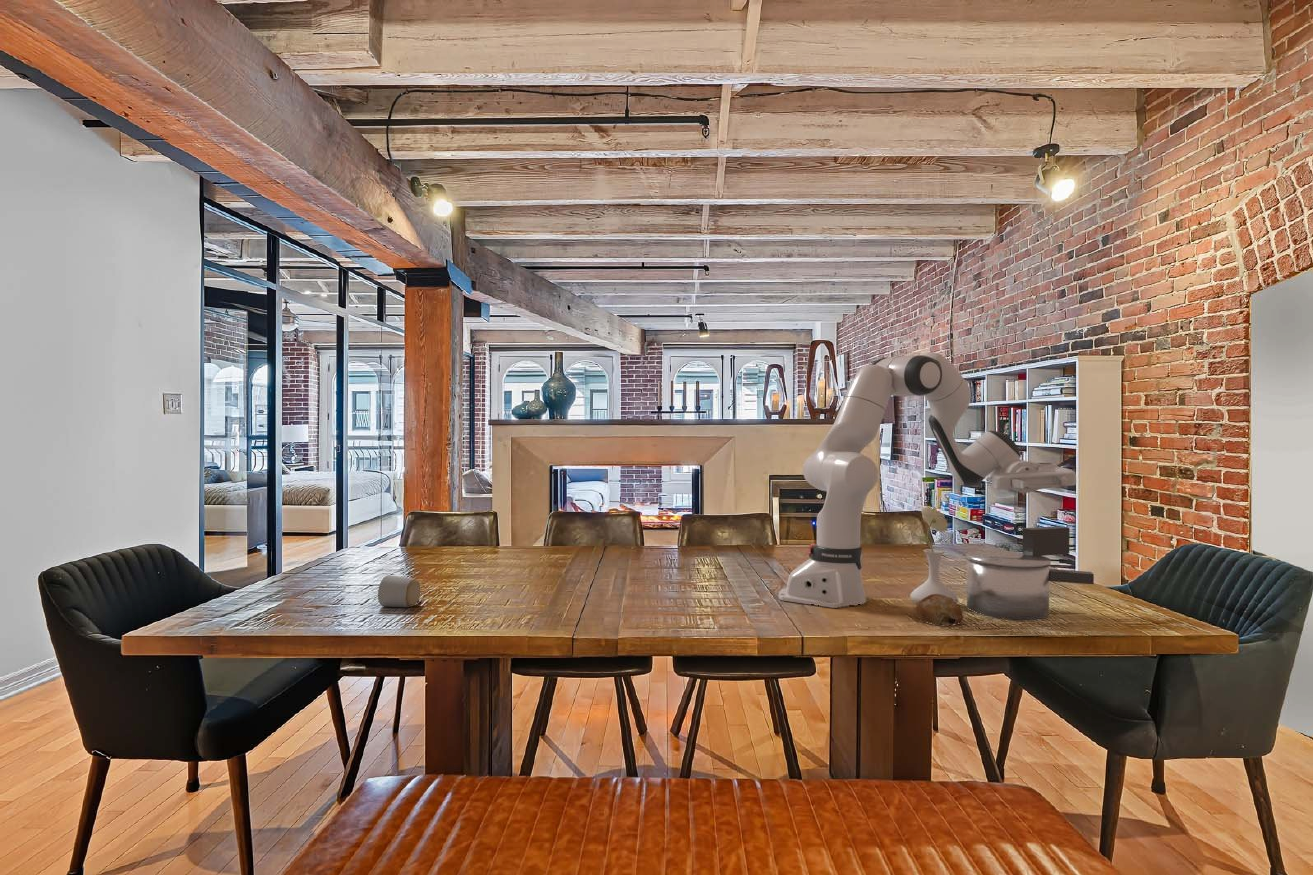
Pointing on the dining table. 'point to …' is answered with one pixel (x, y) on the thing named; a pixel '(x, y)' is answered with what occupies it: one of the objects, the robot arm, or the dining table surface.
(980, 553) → the cooker lid
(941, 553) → the flower in vase
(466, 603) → the dining table surface
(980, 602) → the cooker pot
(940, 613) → the bread roll
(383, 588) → the ceramic mug
